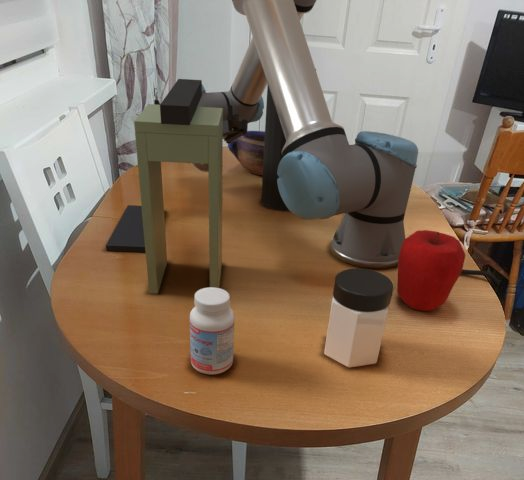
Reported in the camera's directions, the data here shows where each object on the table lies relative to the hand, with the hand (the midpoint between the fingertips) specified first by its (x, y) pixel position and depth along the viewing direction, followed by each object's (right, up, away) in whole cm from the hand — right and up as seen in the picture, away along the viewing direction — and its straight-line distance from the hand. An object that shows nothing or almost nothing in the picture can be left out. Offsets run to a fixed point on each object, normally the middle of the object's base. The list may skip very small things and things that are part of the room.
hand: (193, 110), depth 95 cm
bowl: (+13, +7, +54) cm, 56 cm away
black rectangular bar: (0, -6, -14) cm, 15 cm away
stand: (-1, -31, -1) cm, 31 cm away
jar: (+26, -45, -17) cm, 54 cm away
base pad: (-14, -18, +16) cm, 28 cm away
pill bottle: (+6, -46, -21) cm, 51 cm away
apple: (+40, -36, -4) cm, 55 cm away
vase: (+18, -8, +34) cm, 39 cm away
